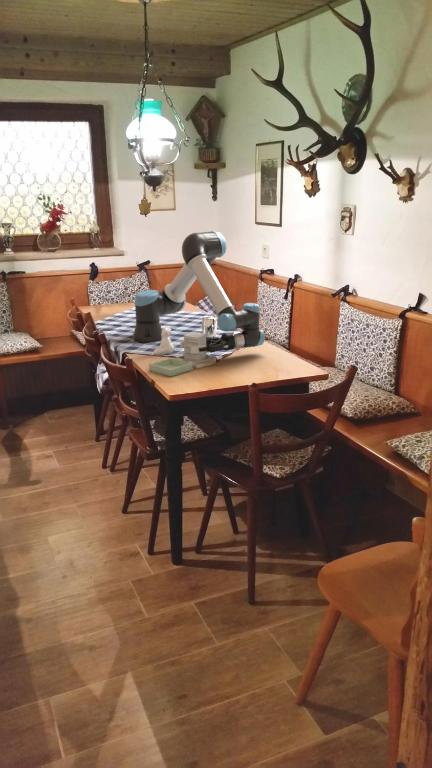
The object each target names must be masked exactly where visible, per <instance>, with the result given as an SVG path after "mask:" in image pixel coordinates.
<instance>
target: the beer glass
mask: <svg viewBox="0 0 432 768" xmlns="http://www.w3.org/2000/svg"><path fill="white" fill-rule="evenodd" d="M217 319H218V316H214V315H213V316H212V315H206V316H203V317H202V319H201V330H202V332H201V333H204V334H206V337H215V338H217V331H218V323H217ZM211 344H212V343H211Z"/></svg>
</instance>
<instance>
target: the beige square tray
mask: <svg viewBox="0 0 432 768" xmlns="http://www.w3.org/2000/svg"><path fill="white" fill-rule="evenodd" d="M174 358H175V359H178V360H182V361H186V362H190V363H192V366H193V370H197V369H201V368H204V367H207V366H210V365H213V364H214V365H215V364H216V363H217V357H216V356H213V355H209V354H206V360H203V361H199V362H196V363H195V362H191V361H187V360H184V354H183V355H180V356H177V357H174Z"/></svg>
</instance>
